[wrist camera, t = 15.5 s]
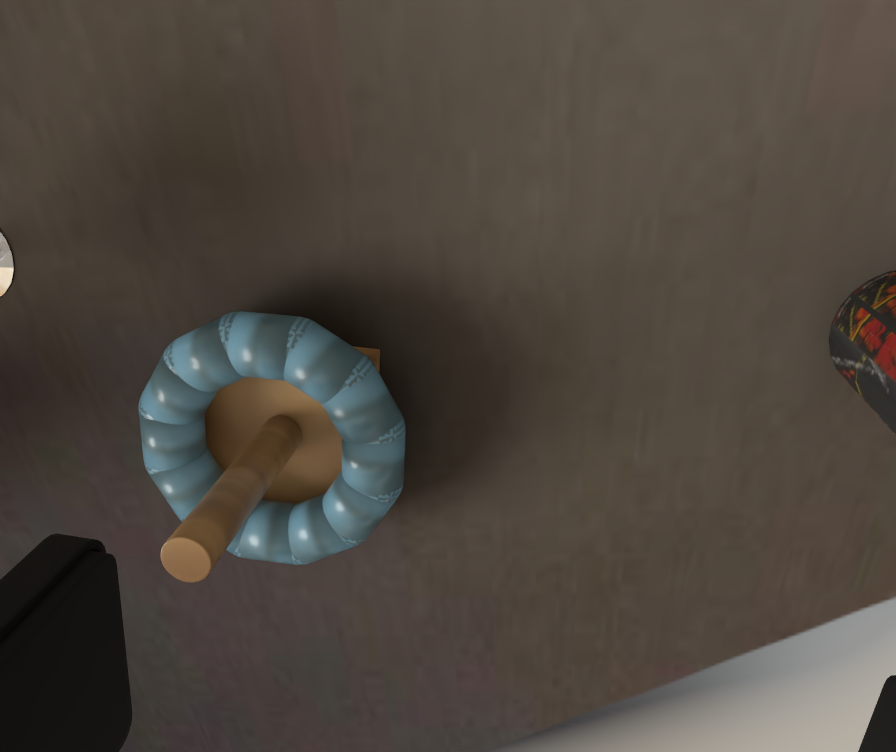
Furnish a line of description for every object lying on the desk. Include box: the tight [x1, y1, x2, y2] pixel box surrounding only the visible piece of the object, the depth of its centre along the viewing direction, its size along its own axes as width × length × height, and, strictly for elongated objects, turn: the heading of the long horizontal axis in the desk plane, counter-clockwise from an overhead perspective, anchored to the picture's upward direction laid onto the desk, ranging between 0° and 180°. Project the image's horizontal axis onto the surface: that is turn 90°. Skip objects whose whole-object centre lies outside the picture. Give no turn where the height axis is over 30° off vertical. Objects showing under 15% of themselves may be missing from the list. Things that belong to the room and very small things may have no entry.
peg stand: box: [161, 346, 380, 582], centre depth 35 cm, size 9×9×12 cm
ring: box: [138, 311, 406, 565], centre depth 38 cm, size 13×13×3 cm
